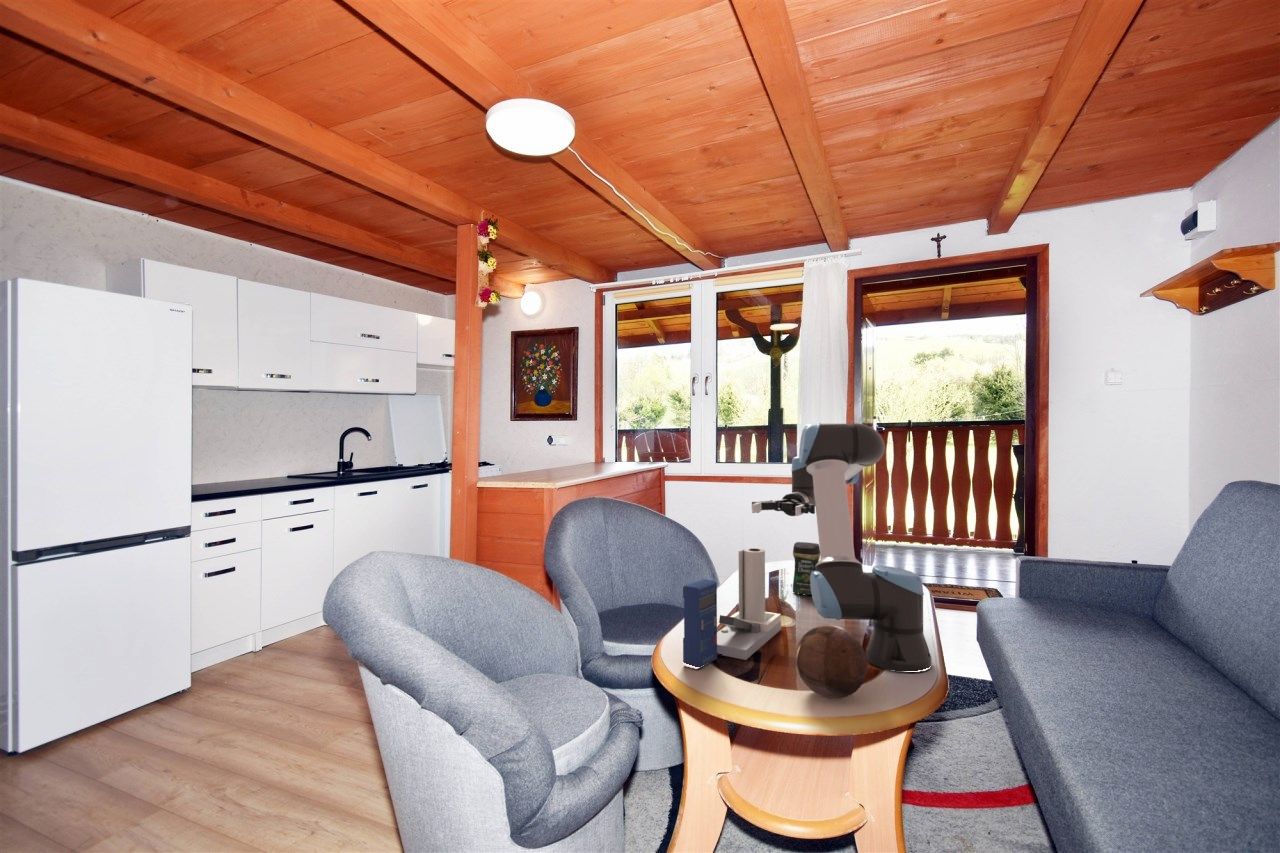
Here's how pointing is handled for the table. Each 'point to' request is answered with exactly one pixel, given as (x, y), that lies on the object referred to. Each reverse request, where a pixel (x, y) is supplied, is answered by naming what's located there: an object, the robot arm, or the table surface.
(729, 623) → the breaker lever
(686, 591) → the electronic device
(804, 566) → the coffee jar
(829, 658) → the wooden sphere
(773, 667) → the table surface
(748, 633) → the board
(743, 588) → the paper towel roll
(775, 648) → the table surface
